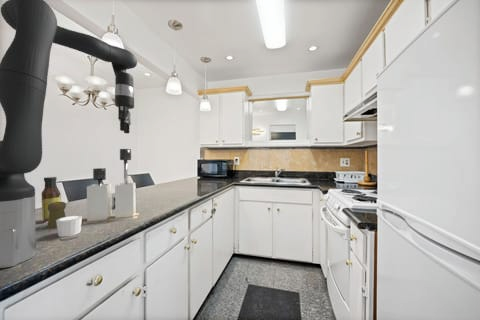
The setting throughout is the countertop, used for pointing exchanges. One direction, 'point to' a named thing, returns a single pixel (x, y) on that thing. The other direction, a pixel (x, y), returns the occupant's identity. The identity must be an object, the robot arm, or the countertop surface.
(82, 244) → the countertop surface
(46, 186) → the sauce bottle
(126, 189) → the jar right
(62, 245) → the countertop surface
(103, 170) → the plunger left
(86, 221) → the stand
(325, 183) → the countertop surface
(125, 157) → the plunger right
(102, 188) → the jar left
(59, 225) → the white ramekin
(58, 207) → the cork
